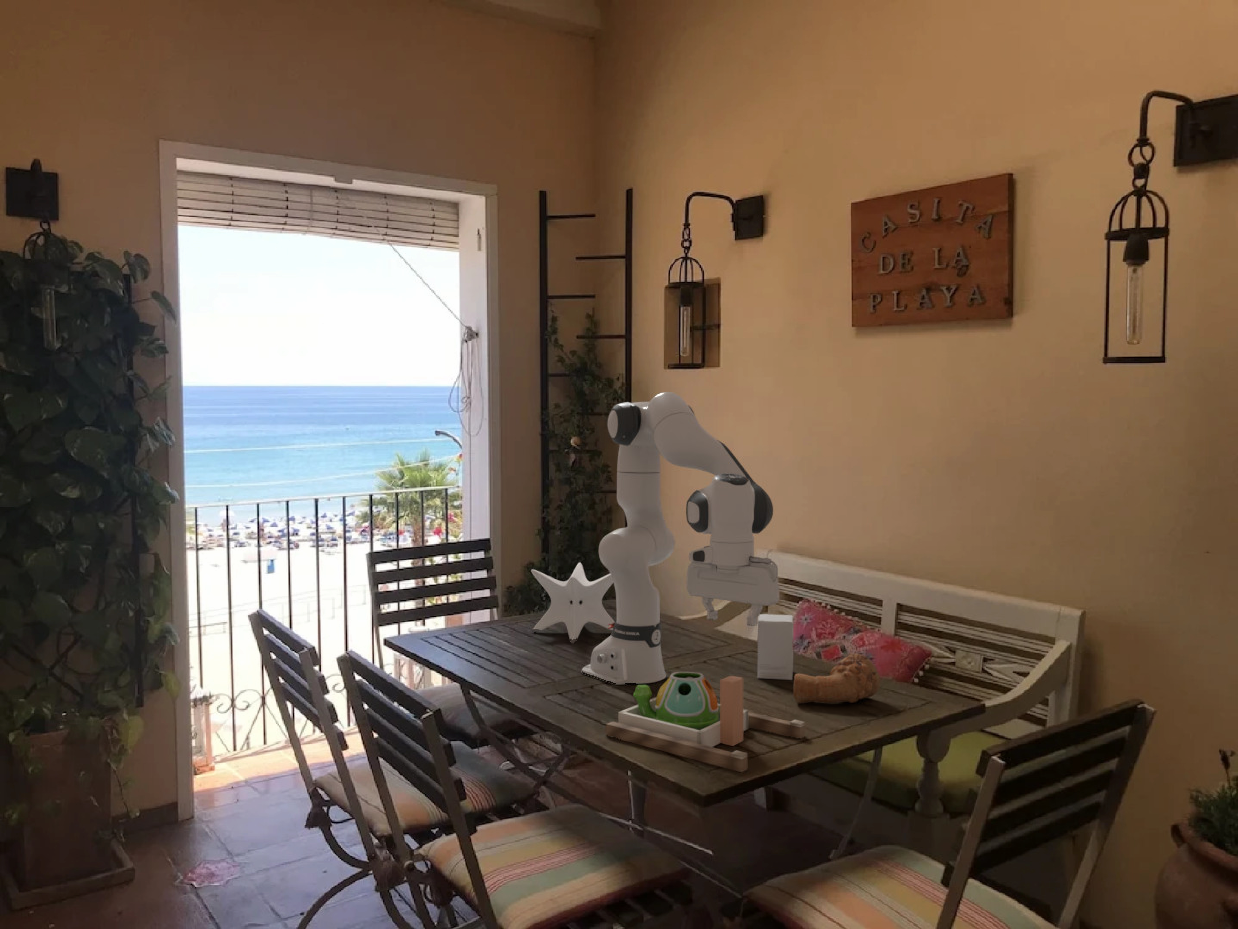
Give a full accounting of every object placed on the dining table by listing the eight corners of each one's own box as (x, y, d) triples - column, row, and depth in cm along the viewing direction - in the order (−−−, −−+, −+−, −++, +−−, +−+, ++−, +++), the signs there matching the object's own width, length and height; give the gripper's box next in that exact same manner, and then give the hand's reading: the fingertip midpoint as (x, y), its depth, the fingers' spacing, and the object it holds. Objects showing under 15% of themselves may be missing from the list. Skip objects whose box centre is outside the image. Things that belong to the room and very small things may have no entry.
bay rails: (606, 735, 195) (606, 721, 195) (675, 706, 215) (675, 693, 215) (741, 772, 175) (741, 756, 174) (804, 736, 194) (804, 721, 194)
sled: (618, 730, 198) (618, 670, 197) (668, 709, 212) (668, 653, 211) (713, 756, 183) (713, 690, 182) (760, 731, 197) (760, 670, 196)
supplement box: (792, 680, 235) (793, 622, 235) (757, 679, 237) (757, 620, 236) (793, 671, 244) (793, 614, 244) (758, 669, 246) (759, 613, 245)
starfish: (531, 633, 290) (530, 569, 289) (580, 623, 303) (579, 562, 302) (572, 644, 275) (572, 577, 274) (622, 633, 288) (621, 569, 287)
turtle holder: (638, 718, 207) (638, 665, 206) (720, 722, 204) (720, 668, 203) (629, 737, 194) (629, 680, 194) (716, 742, 191) (716, 684, 191)
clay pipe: (875, 728, 211) (882, 690, 224) (876, 687, 207) (882, 652, 220) (792, 716, 217) (803, 680, 230) (791, 677, 213) (802, 643, 226)
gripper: (785, 557, 185) (785, 626, 185) (699, 548, 197) (699, 613, 198) (769, 561, 180) (769, 632, 180) (682, 552, 193) (682, 618, 193)
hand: (732, 622), depth 189 cm, fingers open, 8 cm apart
